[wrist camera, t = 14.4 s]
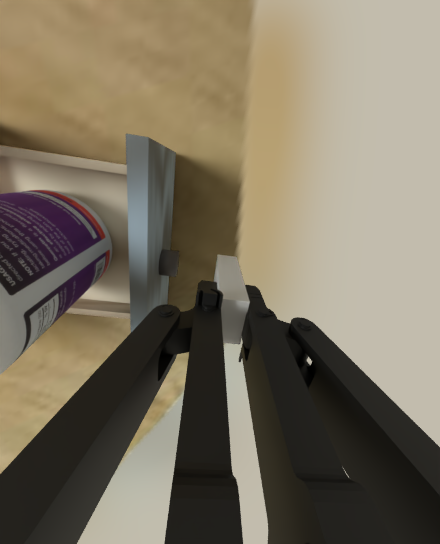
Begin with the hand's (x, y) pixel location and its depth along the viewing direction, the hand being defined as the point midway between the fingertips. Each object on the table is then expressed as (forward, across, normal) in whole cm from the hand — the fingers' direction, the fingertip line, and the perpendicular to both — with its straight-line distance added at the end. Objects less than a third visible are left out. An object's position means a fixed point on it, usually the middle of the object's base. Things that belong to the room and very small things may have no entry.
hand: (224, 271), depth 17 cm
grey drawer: (+4, -11, 0) cm, 12 cm away
